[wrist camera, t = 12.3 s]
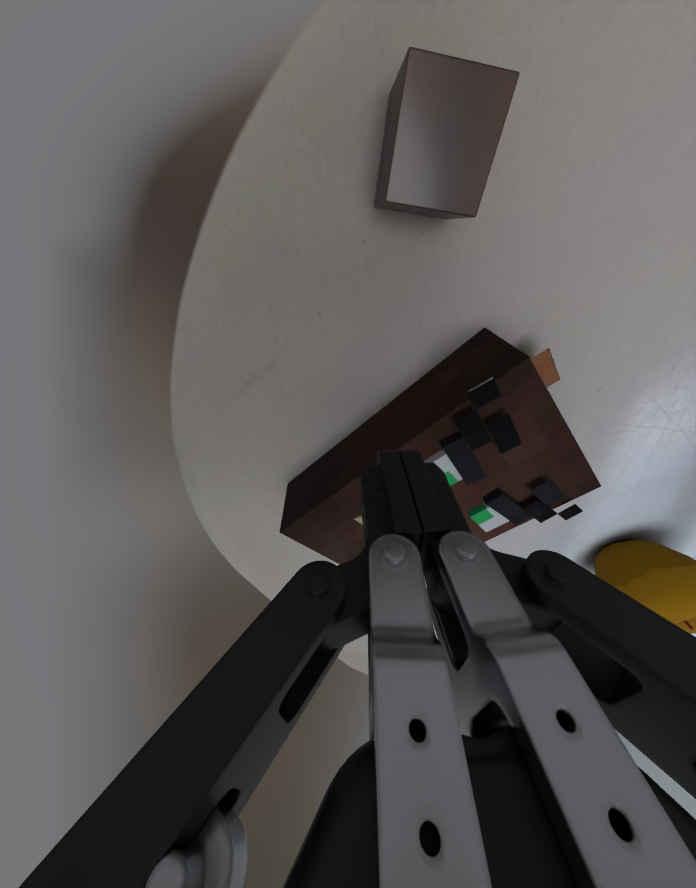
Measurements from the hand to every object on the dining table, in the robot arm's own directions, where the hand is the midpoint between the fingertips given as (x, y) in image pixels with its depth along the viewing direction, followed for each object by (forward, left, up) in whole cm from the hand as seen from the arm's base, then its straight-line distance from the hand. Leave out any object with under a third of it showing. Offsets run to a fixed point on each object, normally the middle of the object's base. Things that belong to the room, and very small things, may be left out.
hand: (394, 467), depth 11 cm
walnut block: (+2, +11, -16) cm, 20 cm away
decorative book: (+8, -13, -16) cm, 23 cm away
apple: (+46, -28, -16) cm, 56 cm away
